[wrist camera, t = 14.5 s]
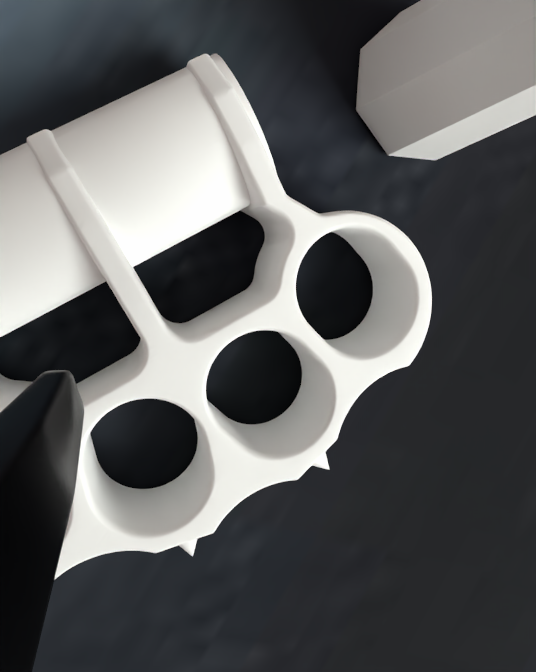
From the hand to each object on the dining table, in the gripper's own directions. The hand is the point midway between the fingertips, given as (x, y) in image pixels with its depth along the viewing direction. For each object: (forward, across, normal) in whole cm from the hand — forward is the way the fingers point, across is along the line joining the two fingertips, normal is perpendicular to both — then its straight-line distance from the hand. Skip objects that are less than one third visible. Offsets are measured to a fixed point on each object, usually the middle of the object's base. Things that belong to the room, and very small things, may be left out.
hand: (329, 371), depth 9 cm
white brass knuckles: (+8, +5, +6) cm, 11 cm away
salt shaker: (+14, -6, -1) cm, 15 cm away
